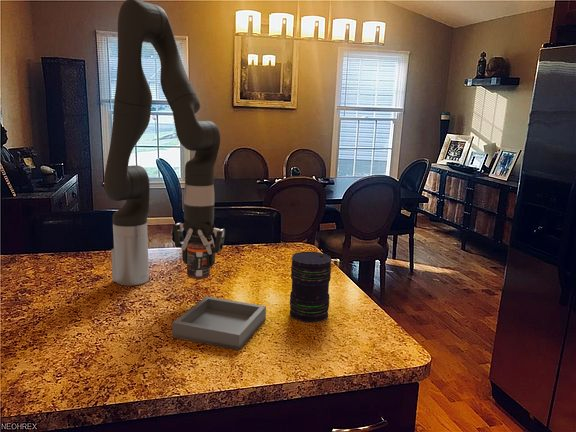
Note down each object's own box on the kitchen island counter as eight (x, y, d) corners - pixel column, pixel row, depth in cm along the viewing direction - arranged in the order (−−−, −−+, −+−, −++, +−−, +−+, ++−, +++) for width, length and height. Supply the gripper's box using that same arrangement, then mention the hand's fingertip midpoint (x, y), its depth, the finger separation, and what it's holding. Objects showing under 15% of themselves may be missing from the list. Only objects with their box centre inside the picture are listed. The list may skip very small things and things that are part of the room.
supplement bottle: (205, 281, 119) (205, 238, 116) (183, 278, 120) (183, 236, 117) (213, 273, 124) (213, 232, 122) (192, 271, 125) (192, 230, 123)
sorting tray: (172, 337, 103) (172, 322, 103) (206, 309, 118) (206, 296, 117) (239, 350, 99) (239, 335, 98) (265, 319, 114) (265, 306, 113)
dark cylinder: (301, 325, 111) (303, 265, 108) (282, 309, 119) (284, 254, 116) (336, 318, 116) (339, 261, 112) (315, 303, 124) (318, 249, 121)
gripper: (165, 201, 116) (166, 265, 120) (218, 207, 112) (217, 274, 116) (181, 196, 123) (181, 256, 127) (231, 202, 119) (230, 264, 123)
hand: (198, 264), depth 121 cm, fingers closed on supplement bottle, 6 cm apart
